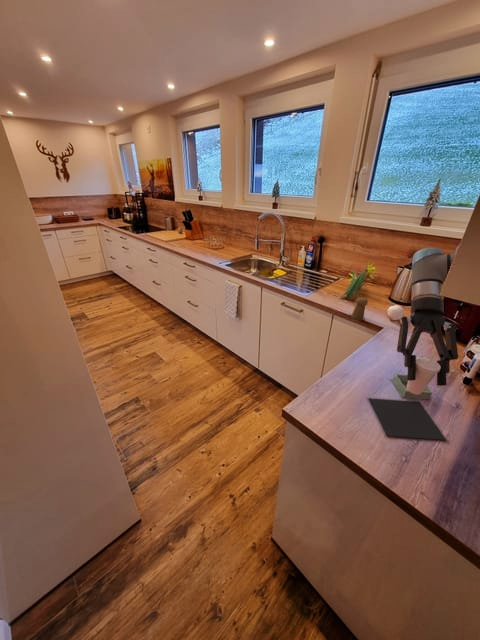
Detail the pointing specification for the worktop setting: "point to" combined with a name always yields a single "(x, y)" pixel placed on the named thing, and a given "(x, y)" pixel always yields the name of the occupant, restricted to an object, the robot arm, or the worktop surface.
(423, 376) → the smoothie
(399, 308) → the geometric ball
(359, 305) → the brown tapered tower
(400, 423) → the mat
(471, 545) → the worktop surface
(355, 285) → the daffodil flowers
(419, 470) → the worktop surface
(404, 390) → the holder
